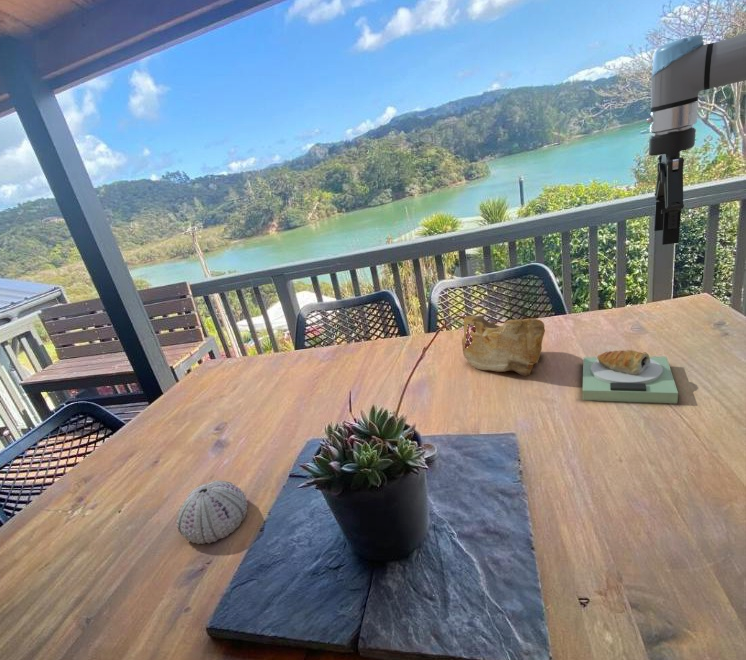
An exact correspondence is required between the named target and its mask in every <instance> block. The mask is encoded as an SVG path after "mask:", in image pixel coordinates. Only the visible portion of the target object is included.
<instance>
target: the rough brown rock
mask: <svg viewBox="0 0 746 660" xmlns="http://www.w3.org/2000/svg"><path fill="white" fill-rule="evenodd" d="M467 324H471V325H474V326H475V328H476V332H475V333H473V332H472V331H471V332H470V335H471V336H472V338H473V341H472V343H471V344H470V345H469V347H468V348H465V347H464V345H465V342H466V332H467V329H468V328H467ZM545 333H546V329H545V323H544V322H543V321H542V320H540V319H538V318H533V317H532V318H524V319H519V318H517V319H516V318H515V319H508V320H506V321H504V323H503V325H501V326H500V325H498V324H496V323H494V322H491V321H488V320H487V319H486V318H484V317H483V316H482V315H473V314H472V315H468V316H465V317H464V318H463V336H462V338H461V347H462V353H463V357H464V358H465V359H466V361H467V362H468V364H469V365H471V366H472V367H473V368H474V369H477V370H480V371H492V372H498V373H502V372H504V373H505V372H508V371H511V372H515V373H516V374H518V375H520V376H525V377H527V376H530V375H531V372H532V370H533V369H534V365H535V364H538V363H539V360H540V358H541V353H542V349H543V346H542V345H543V340H544V335H545Z"/></svg>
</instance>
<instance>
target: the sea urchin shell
mask: <svg viewBox="0 0 746 660" xmlns="http://www.w3.org/2000/svg"><path fill="white" fill-rule="evenodd" d="M246 496H247V494H245V491H243V490H241V487H238V486H236V484H235V483H234V484H233V482H230V481H226V480H214V481H212V482H209V483H205V484H201V485H199V486H197V487H195V488H194V489H193V490H192V491H190V492H189V493H188V495H187V497H186V499H185V500H184V502H182V505H181V506H180V509H179V510H178V511H179V512H178V514H177V520H176V522H175V523H176V528H177V532H179V534H180V535H181V536H182V537H183V538H185V539H186V541H189V542H191V543H192V544H197V545H200V544H201V545H205V544H209V545H210V544H211V543H215V542H217V541H219V540H221V539H225V538H226V537H229V535H230V534H232V533H234V532H235V530H237V528H239V526H241V523H242V522H243V521H244V520H245V518H246V515H247V513H248V510H247V509H248V502H247V501H248V499H247V497H246Z"/></svg>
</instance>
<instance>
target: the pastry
mask: <svg viewBox="0 0 746 660" xmlns="http://www.w3.org/2000/svg"><path fill="white" fill-rule="evenodd" d="M596 357H597V358H598V360H599V363H600V364H601V365H602V366H605V367H606V368H609V369H611V370H615V371H617V372H621V373H623V372H624V373H626V374H630V375H639V374H640V373H642V372H643V371H644V369H645V368H646V367H647V366H649V365H650V357H651V356H650V355H649V354H648V352H646V351H645V352H641V351H637V350H633V349H626V350H621V349H620V350H612V351H611V350H609V351H605V352H603V353H601V354H599V355H597V356H596Z"/></svg>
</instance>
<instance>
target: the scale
mask: <svg viewBox="0 0 746 660" xmlns="http://www.w3.org/2000/svg"><path fill="white" fill-rule="evenodd" d="M597 357H598V356H584V357H583V358H582V363H583V365H582V401H599V402H624V403H625V402H627V403H628V402H629V403H655V404H657V403H658V404H678V401H679V400H678V399H679V392H678V388H677V386H676V381H675V378H674V376H673V373H672V370H671V367H670V363H669V359H668V357H667V356H649V357H650V365H649V366H647V367H646V368H645V369H644V371H643V372H642V373H640V374H639V375H630V374H626V373H624V372H623V373H621V372H617V371H615V370H611V369H609V368H606V367H605V366H602V365H601V364H600V363H599V360H598V358H597Z"/></svg>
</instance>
